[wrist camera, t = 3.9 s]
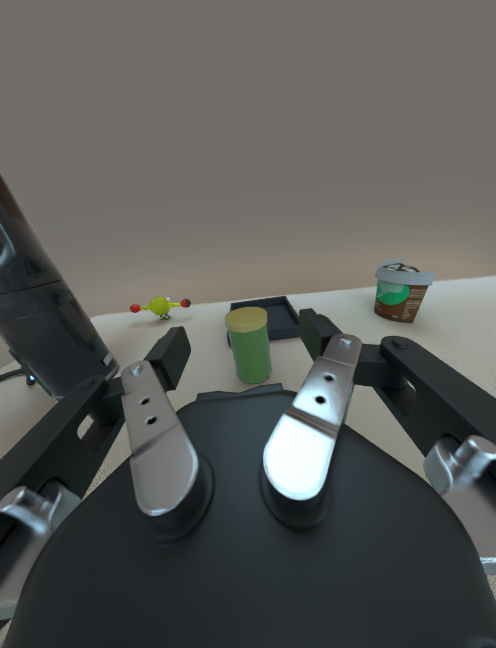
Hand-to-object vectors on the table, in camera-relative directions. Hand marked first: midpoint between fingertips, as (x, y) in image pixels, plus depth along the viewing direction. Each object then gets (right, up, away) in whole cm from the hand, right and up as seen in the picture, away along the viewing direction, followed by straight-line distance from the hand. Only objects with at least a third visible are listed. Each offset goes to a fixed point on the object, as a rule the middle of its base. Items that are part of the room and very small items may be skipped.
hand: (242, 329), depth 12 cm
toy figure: (-24, +2, +41) cm, 47 cm away
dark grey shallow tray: (+4, +1, +31) cm, 31 cm away
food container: (+31, +3, +27) cm, 41 cm away
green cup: (+1, -7, +17) cm, 18 cm away
